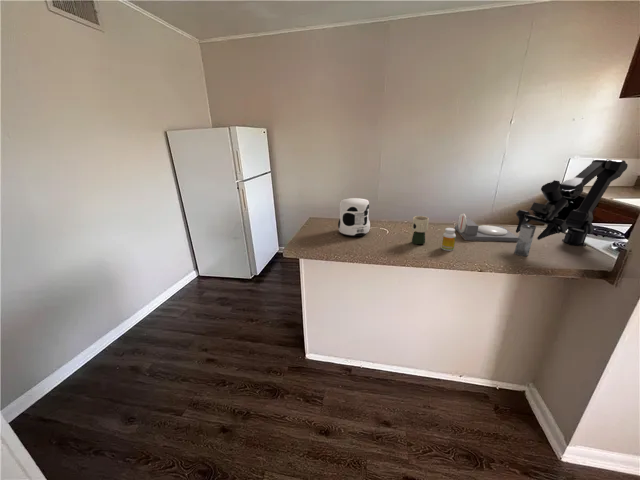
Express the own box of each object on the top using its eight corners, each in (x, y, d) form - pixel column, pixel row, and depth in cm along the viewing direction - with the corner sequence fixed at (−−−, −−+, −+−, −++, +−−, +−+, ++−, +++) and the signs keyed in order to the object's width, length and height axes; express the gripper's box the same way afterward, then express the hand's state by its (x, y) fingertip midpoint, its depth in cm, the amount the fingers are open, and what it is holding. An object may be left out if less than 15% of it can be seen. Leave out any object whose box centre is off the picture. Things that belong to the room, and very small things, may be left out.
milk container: (348, 226, 161) (348, 196, 154) (375, 231, 151) (376, 199, 144) (332, 235, 148) (331, 202, 141) (360, 241, 138) (361, 206, 131)
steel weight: (524, 251, 121) (531, 224, 116) (530, 256, 116) (538, 227, 112) (512, 251, 122) (519, 223, 117) (518, 255, 117) (525, 227, 112)
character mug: (409, 238, 139) (411, 214, 134) (424, 239, 138) (427, 214, 133) (411, 247, 129) (414, 221, 124) (427, 247, 128) (431, 221, 123)
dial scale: (501, 229, 148) (505, 210, 144) (518, 241, 132) (523, 220, 128) (453, 228, 152) (456, 209, 148) (464, 240, 136) (468, 219, 132)
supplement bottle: (454, 251, 123) (458, 231, 120) (442, 250, 124) (445, 230, 121) (452, 246, 128) (455, 227, 125) (439, 246, 129) (442, 227, 126)
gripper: (524, 191, 120) (499, 218, 121) (572, 200, 103) (543, 231, 104) (532, 207, 125) (508, 232, 126) (579, 218, 108) (552, 247, 109)
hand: (526, 235), depth 116 cm, fingers open, 9 cm apart
